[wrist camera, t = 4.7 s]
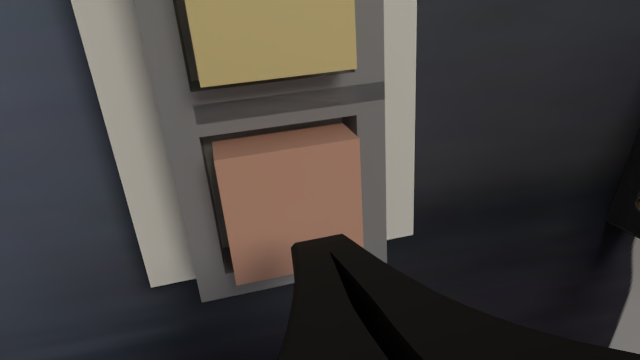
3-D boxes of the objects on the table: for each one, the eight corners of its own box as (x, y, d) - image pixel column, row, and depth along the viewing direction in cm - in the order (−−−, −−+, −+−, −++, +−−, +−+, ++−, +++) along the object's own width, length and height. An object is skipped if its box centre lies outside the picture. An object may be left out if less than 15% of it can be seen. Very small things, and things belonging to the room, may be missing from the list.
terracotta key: (348, 233, 17) (364, 259, 15) (232, 256, 16) (236, 285, 14) (342, 122, 15) (359, 138, 14) (212, 141, 14) (213, 160, 13)
